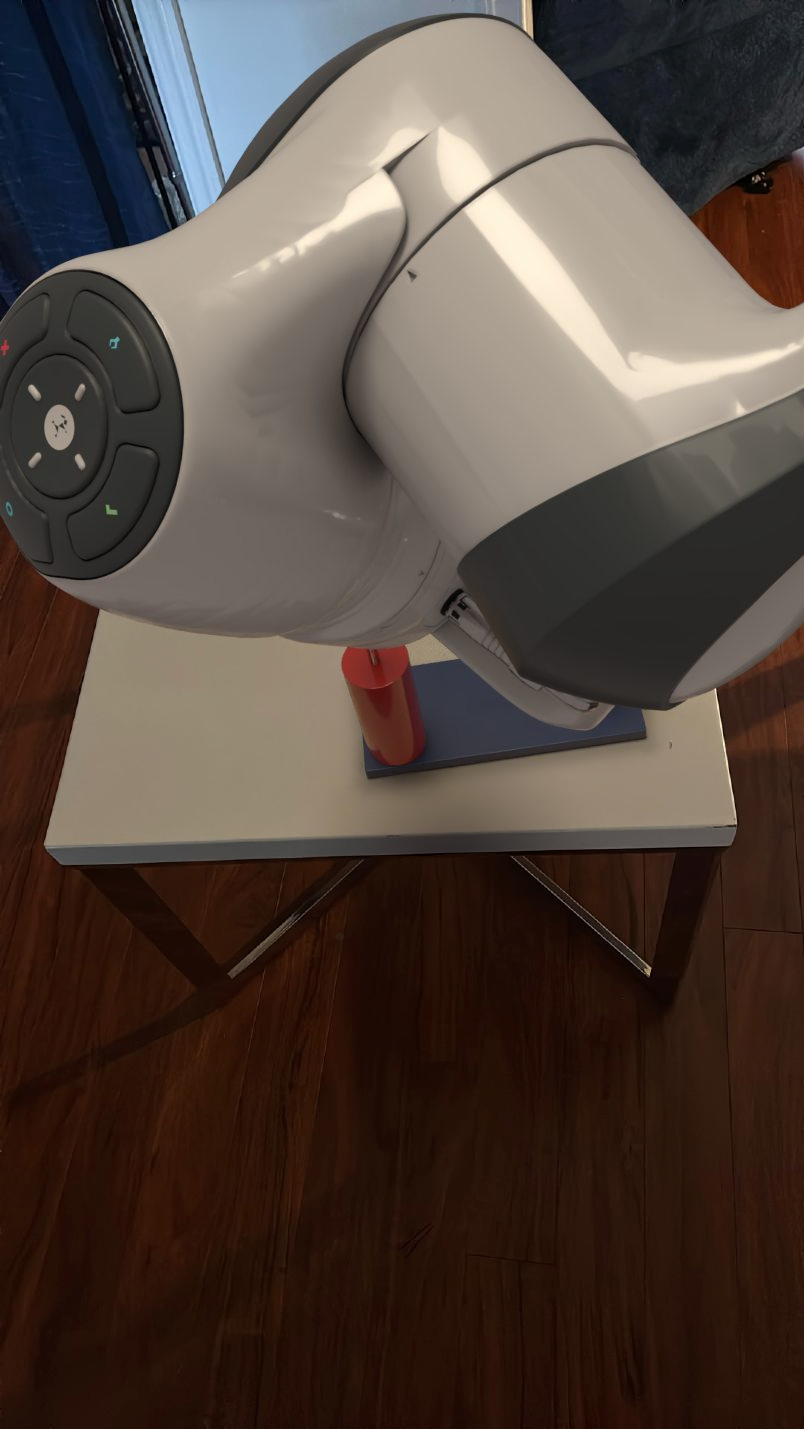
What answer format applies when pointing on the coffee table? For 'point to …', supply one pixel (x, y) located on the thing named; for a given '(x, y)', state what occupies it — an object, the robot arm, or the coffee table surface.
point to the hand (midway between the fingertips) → (483, 568)
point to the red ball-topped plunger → (386, 703)
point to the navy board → (490, 723)
